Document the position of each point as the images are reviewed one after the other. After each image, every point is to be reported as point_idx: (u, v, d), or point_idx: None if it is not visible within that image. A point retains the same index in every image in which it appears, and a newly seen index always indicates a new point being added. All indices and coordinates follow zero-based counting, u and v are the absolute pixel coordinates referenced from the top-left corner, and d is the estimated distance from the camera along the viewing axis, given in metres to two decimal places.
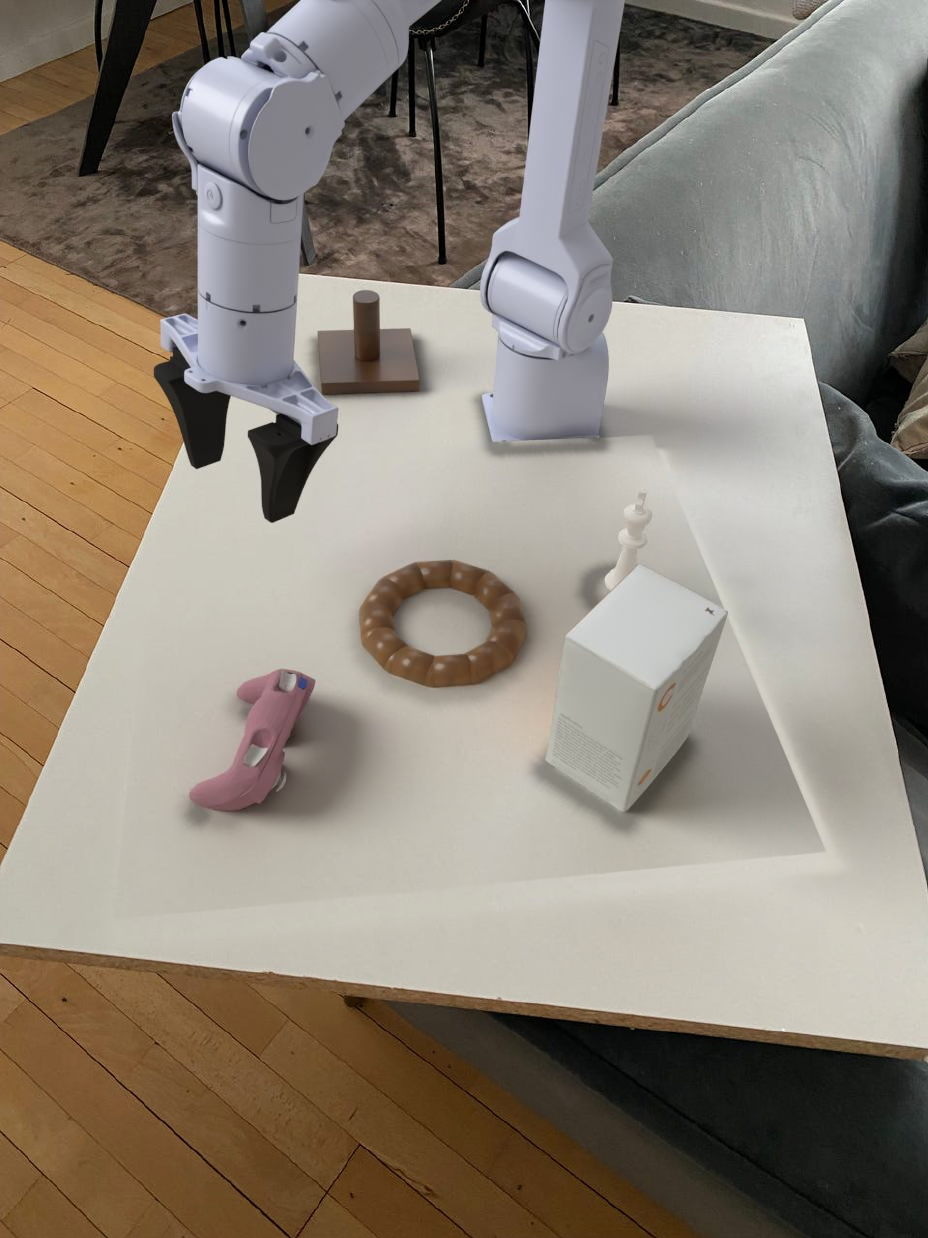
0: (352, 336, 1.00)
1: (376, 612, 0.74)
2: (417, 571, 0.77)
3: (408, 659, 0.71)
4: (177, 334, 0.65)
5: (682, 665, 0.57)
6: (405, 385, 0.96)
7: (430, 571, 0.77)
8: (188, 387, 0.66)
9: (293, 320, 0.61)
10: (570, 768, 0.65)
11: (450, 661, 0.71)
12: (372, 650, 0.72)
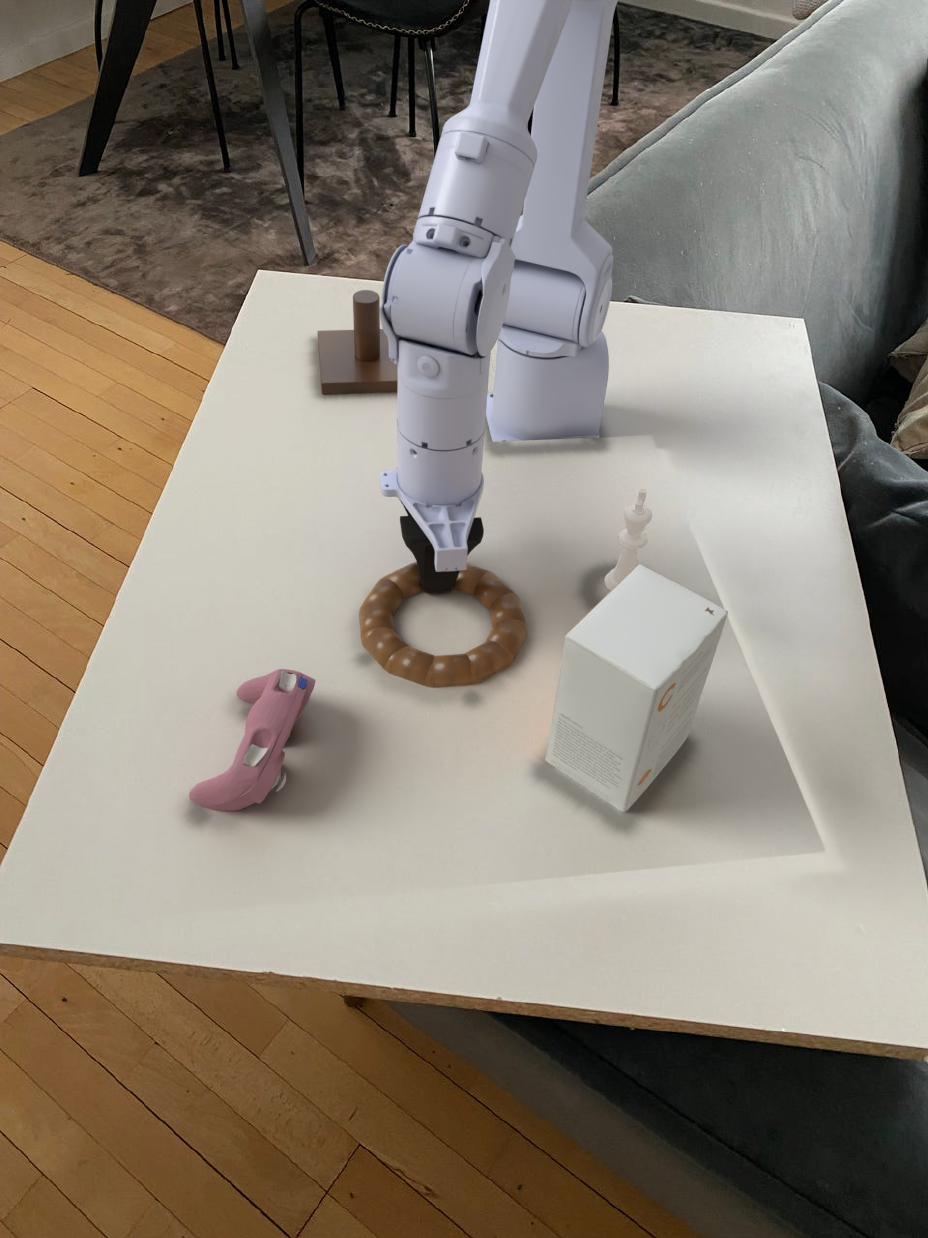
0: (352, 336, 1.00)
1: (376, 612, 0.74)
2: (417, 571, 0.77)
3: (408, 659, 0.71)
4: None
5: (682, 665, 0.57)
6: None
7: None
8: None
9: (466, 459, 0.67)
10: (570, 768, 0.65)
11: (450, 661, 0.71)
12: (372, 650, 0.72)
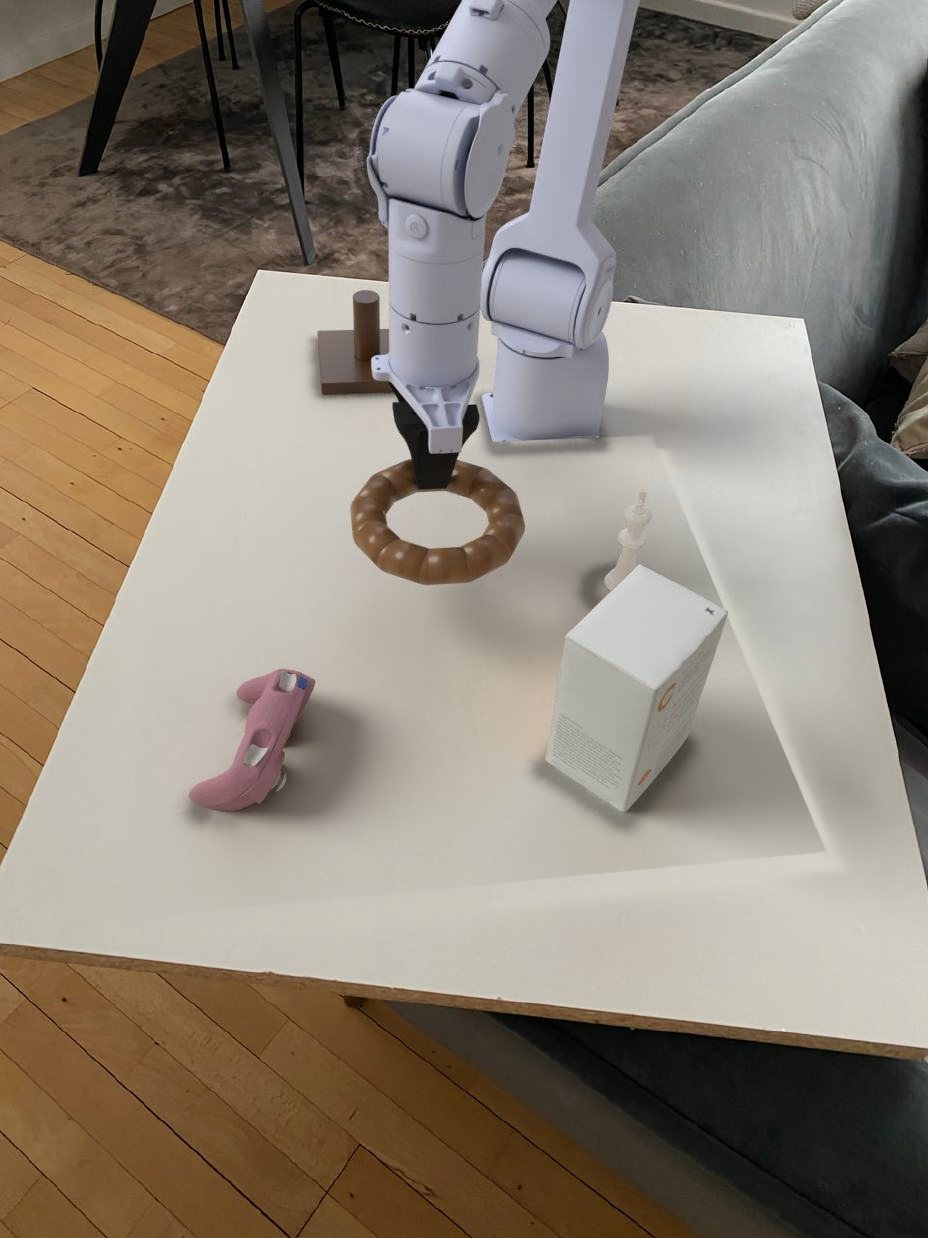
0: (352, 336, 1.00)
1: (368, 506, 0.71)
2: (411, 467, 0.74)
3: (401, 551, 0.68)
4: None
5: (682, 665, 0.57)
6: None
7: None
8: None
9: (461, 335, 0.64)
10: (570, 768, 0.65)
11: (445, 553, 0.68)
12: (364, 543, 0.69)
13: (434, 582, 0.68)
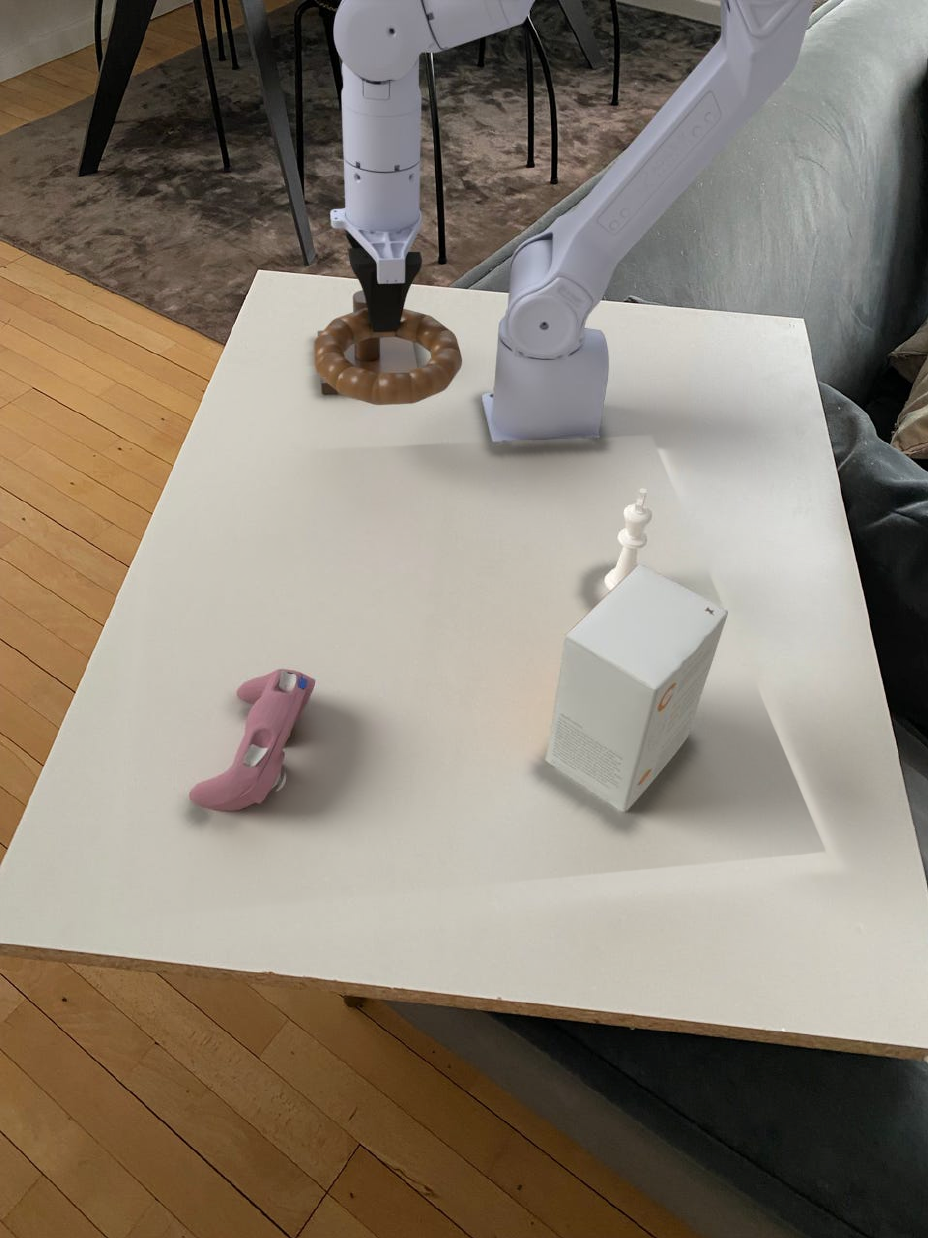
0: None
1: (328, 341, 0.83)
2: (365, 314, 0.86)
3: (356, 374, 0.81)
4: None
5: (682, 665, 0.57)
6: None
7: None
8: None
9: (404, 184, 0.77)
10: (570, 768, 0.65)
11: (393, 376, 0.81)
12: (325, 371, 0.82)
13: (384, 401, 0.81)
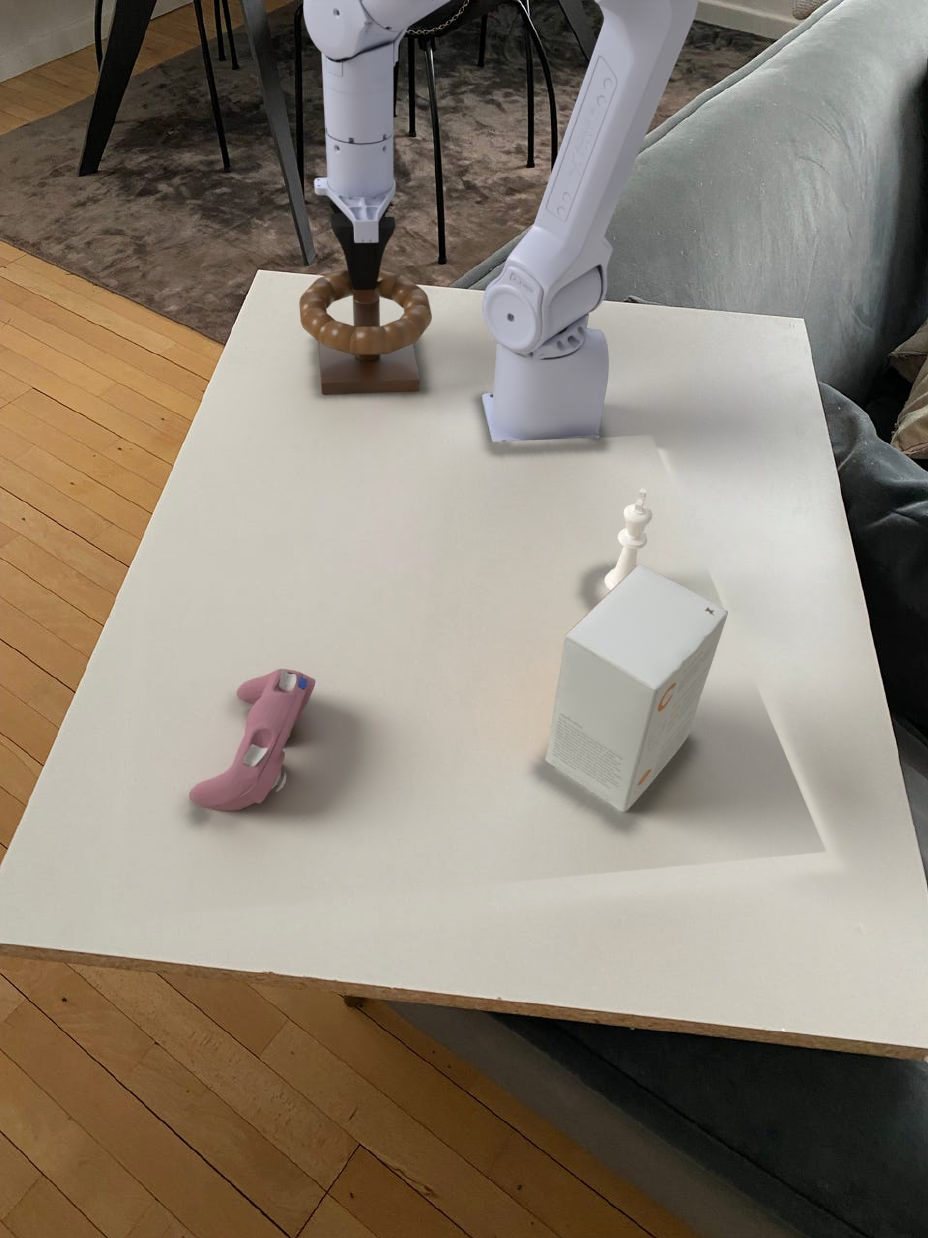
0: None
1: (312, 298, 0.93)
2: (346, 274, 0.96)
3: (336, 327, 0.91)
4: None
5: (682, 665, 0.57)
6: (405, 385, 0.96)
7: None
8: None
9: (378, 155, 0.87)
10: (570, 768, 0.65)
11: (369, 329, 0.91)
12: (308, 324, 0.92)
13: (361, 351, 0.91)
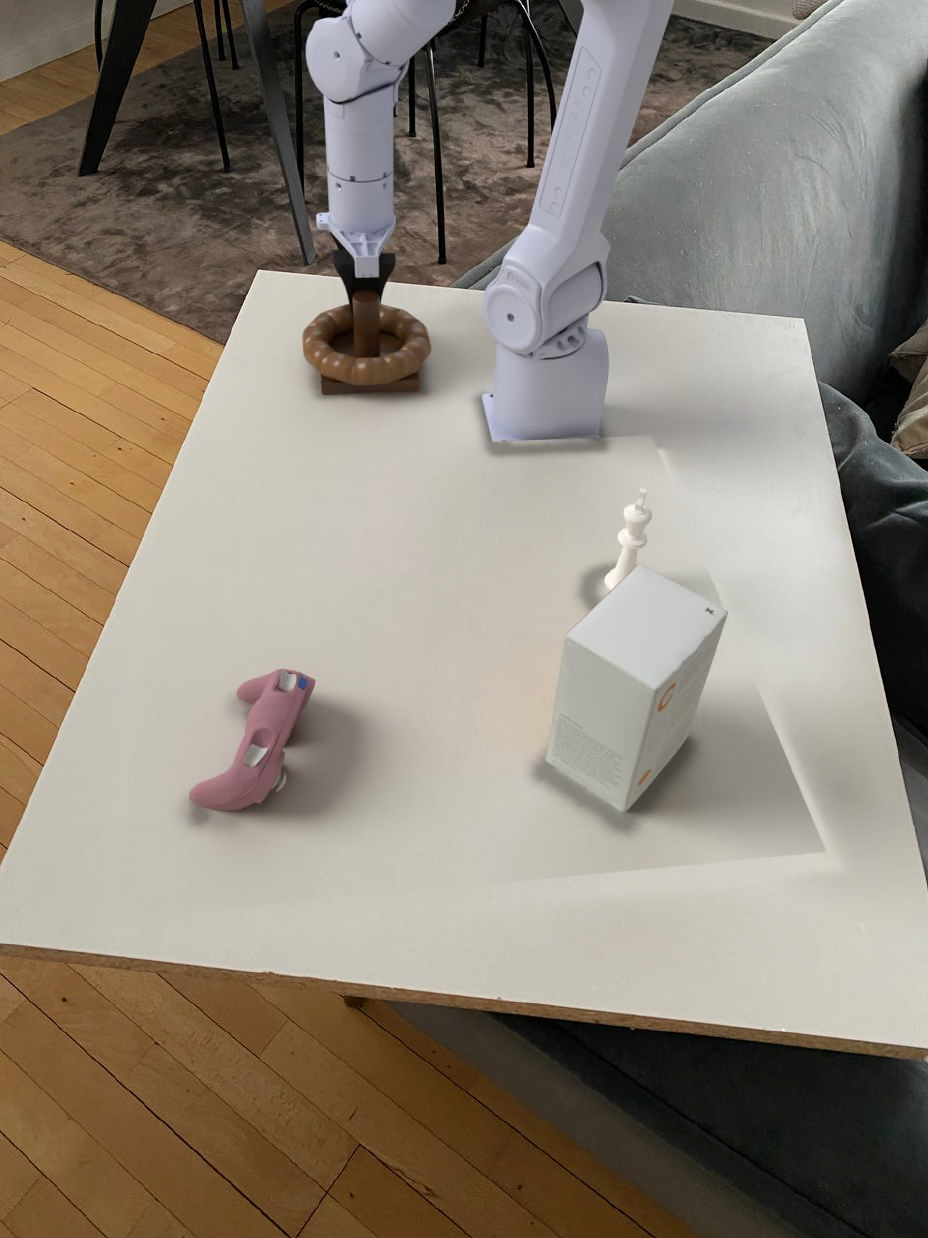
0: (352, 336, 1.00)
1: (315, 331, 0.96)
2: (348, 308, 0.99)
3: (338, 358, 0.93)
4: None
5: (682, 665, 0.57)
6: (405, 385, 0.96)
7: None
8: None
9: (378, 192, 0.89)
10: (570, 768, 0.65)
11: (369, 360, 0.93)
12: (311, 356, 0.95)
13: (362, 381, 0.93)
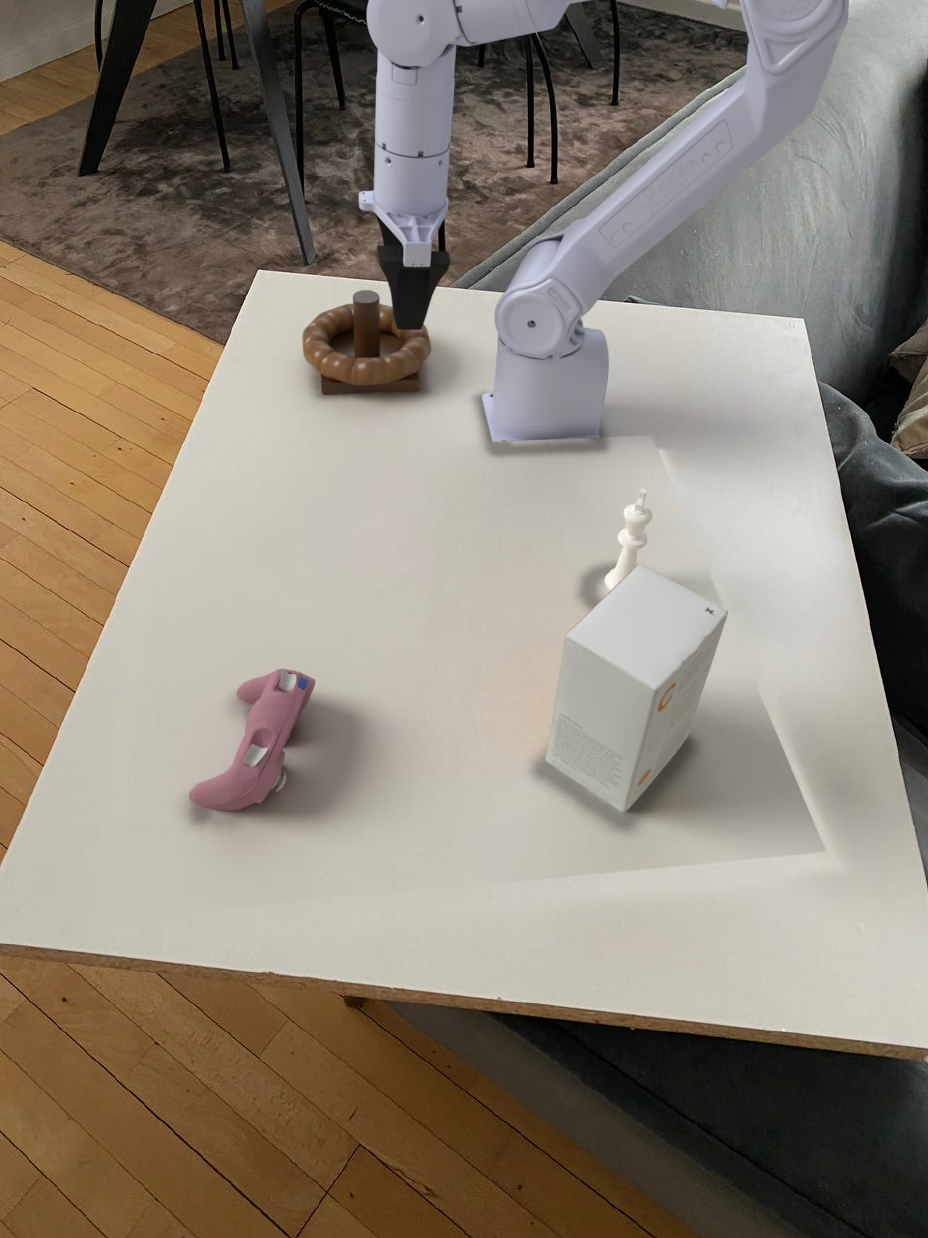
0: (352, 336, 1.00)
1: (315, 331, 0.96)
2: (348, 308, 0.99)
3: (338, 358, 0.93)
4: None
5: (682, 665, 0.57)
6: (405, 385, 0.96)
7: None
8: None
9: (433, 170, 0.79)
10: (570, 768, 0.65)
11: (369, 360, 0.93)
12: (311, 356, 0.95)
13: (362, 381, 0.93)
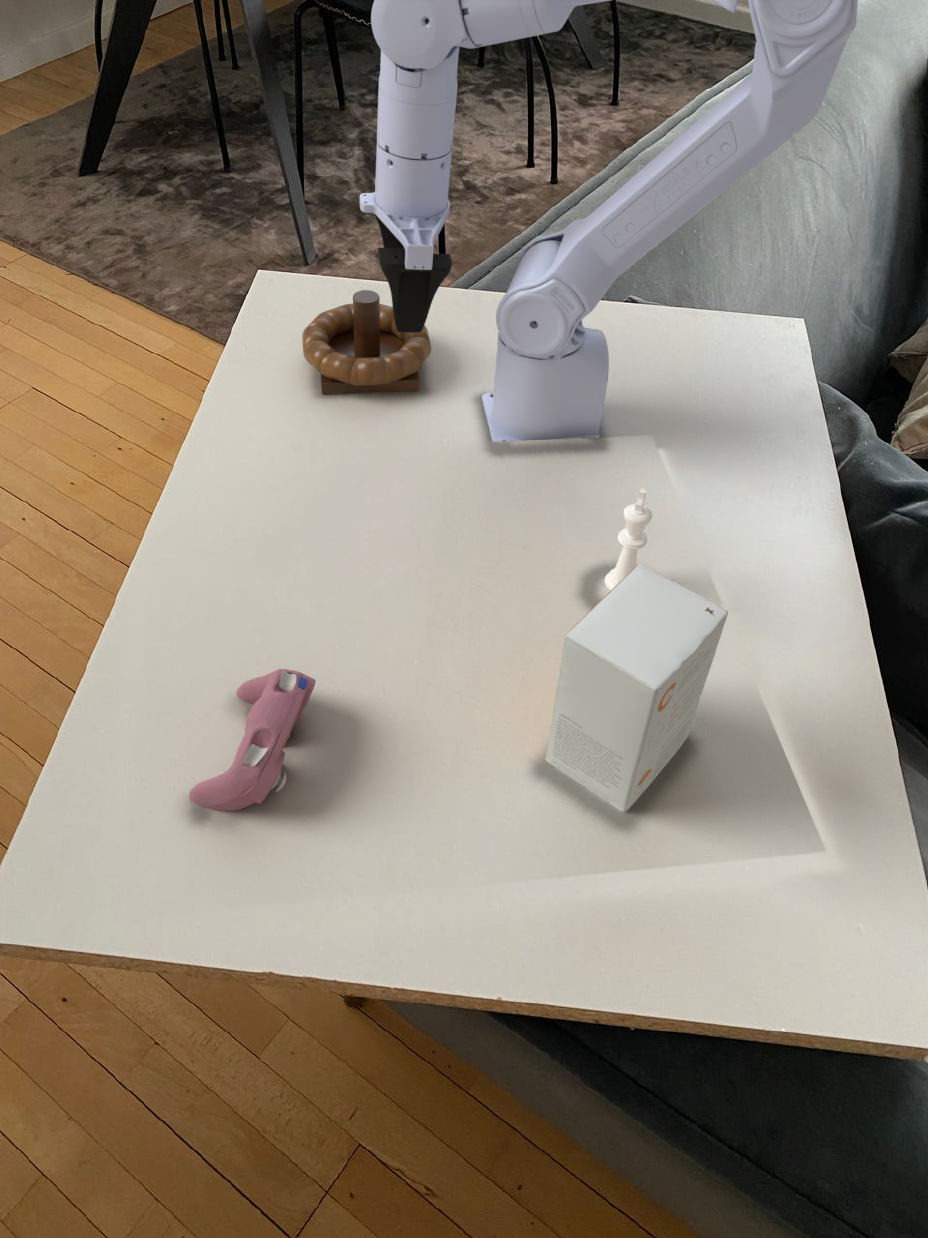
0: (352, 336, 1.00)
1: (315, 331, 0.96)
2: (348, 308, 0.99)
3: (338, 358, 0.93)
4: None
5: (682, 665, 0.57)
6: (405, 385, 0.96)
7: None
8: None
9: (435, 172, 0.78)
10: (570, 768, 0.65)
11: (369, 360, 0.93)
12: (311, 356, 0.95)
13: (362, 381, 0.93)
